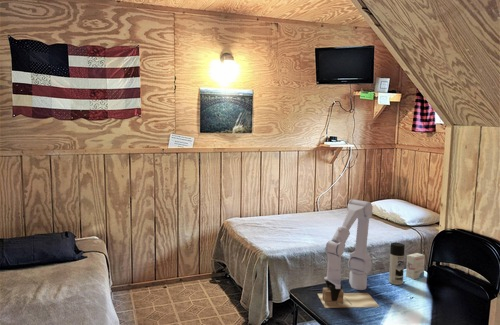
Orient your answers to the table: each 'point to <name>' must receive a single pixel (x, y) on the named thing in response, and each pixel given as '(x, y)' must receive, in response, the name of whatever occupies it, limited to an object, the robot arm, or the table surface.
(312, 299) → the table surface
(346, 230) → the robot arm
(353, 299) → the board
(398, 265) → the spray can
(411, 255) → the ink box
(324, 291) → the block
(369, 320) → the table surface
